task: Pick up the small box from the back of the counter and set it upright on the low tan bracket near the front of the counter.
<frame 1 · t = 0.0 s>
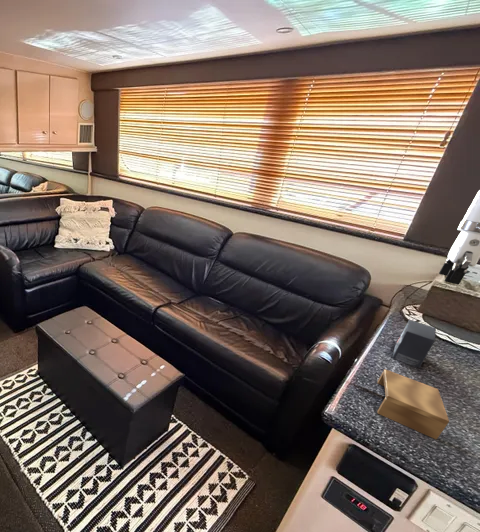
hand: (448, 278, 103), 28 cm above the counter, tool pointing down, fingers open, 9 cm apart
small box: (404, 359, 109), on the counter
tan bracket: (402, 409, 85), on the counter
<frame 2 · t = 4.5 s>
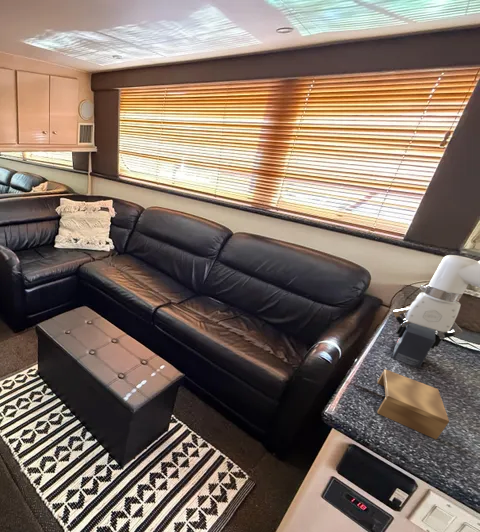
hand: (414, 340, 106), 7 cm above the counter, tool pointing down, fingers closed on small box, 7 cm apart
small box: (404, 359, 109), on the counter, touching gripper
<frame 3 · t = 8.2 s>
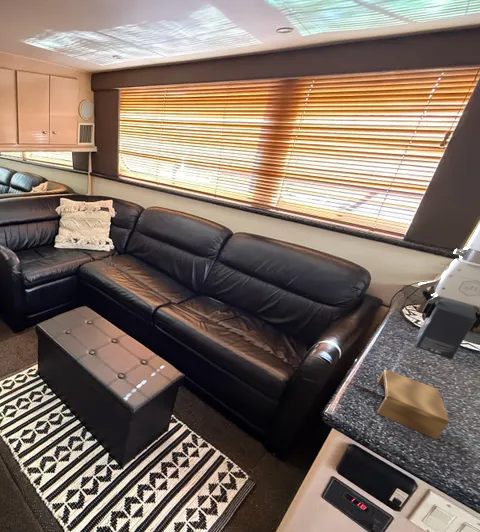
hand: (446, 321, 83), 24 cm above the counter, tool pointing down, fingers closed on small box, 7 cm apart
small box: (432, 345, 86), point 16 cm above the counter, touching gripper
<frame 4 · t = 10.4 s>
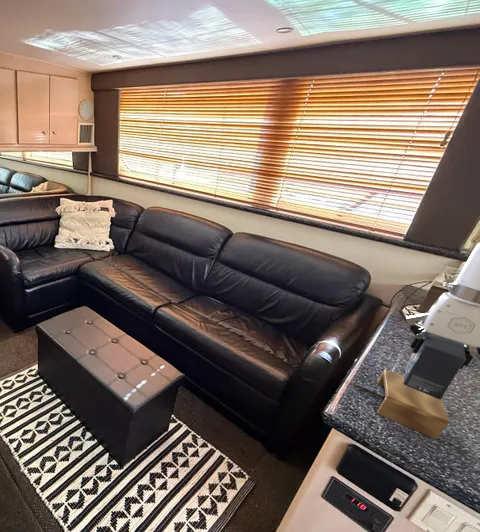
hand: (435, 357, 79), 17 cm above the counter, tool pointing down, fingers closed on small box, 7 cm apart
small box: (420, 381, 81), point 10 cm above the counter, touching gripper
when the fingers open (13 cm above the counter, at t = 12.0 s): small box stays where it is, resting on tan bracket.
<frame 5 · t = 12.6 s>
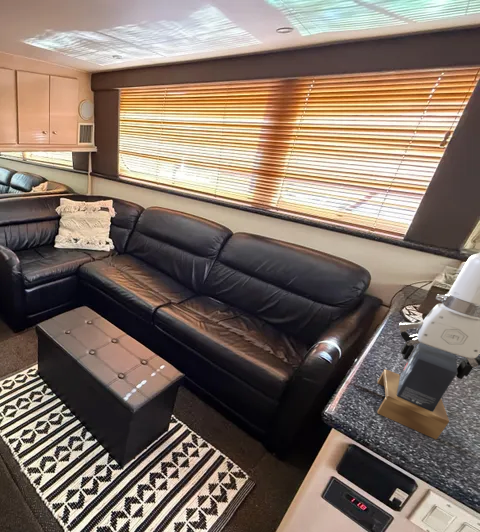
hand: (430, 366, 80), 14 cm above the counter, tool pointing down, fingers open, 9 cm apart
small box: (414, 393, 83), point 6 cm above the counter, touching tan bracket
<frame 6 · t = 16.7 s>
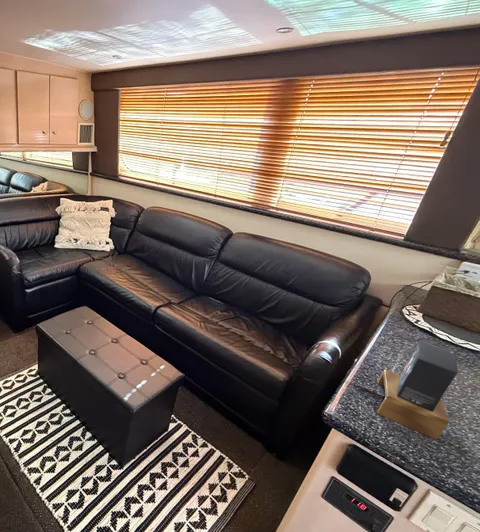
nothing on the counter moved.
at the end: small box inside the target area on the tan bracket (0.1 cm from its centre), point 5.8 cm above the tan bracket's base; small box tilted 0°; the gripper is holding nothing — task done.
